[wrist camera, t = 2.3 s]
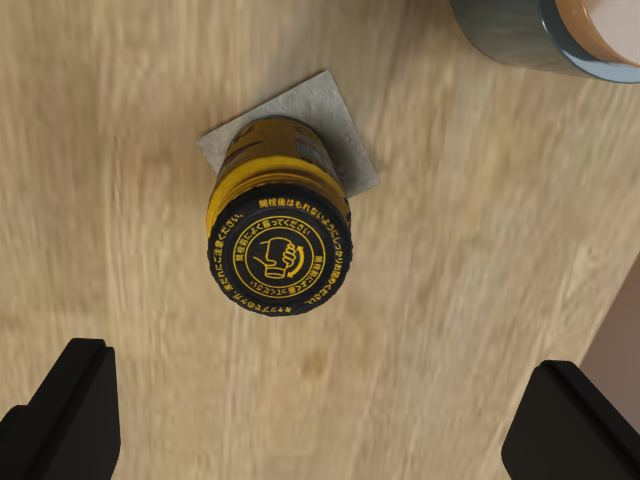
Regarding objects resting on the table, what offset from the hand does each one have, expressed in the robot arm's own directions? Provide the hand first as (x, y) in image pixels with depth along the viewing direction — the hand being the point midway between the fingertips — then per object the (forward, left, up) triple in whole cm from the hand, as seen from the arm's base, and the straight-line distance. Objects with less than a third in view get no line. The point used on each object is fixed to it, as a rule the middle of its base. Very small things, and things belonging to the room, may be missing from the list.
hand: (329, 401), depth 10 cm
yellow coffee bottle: (0, 0, -19) cm, 19 cm away
